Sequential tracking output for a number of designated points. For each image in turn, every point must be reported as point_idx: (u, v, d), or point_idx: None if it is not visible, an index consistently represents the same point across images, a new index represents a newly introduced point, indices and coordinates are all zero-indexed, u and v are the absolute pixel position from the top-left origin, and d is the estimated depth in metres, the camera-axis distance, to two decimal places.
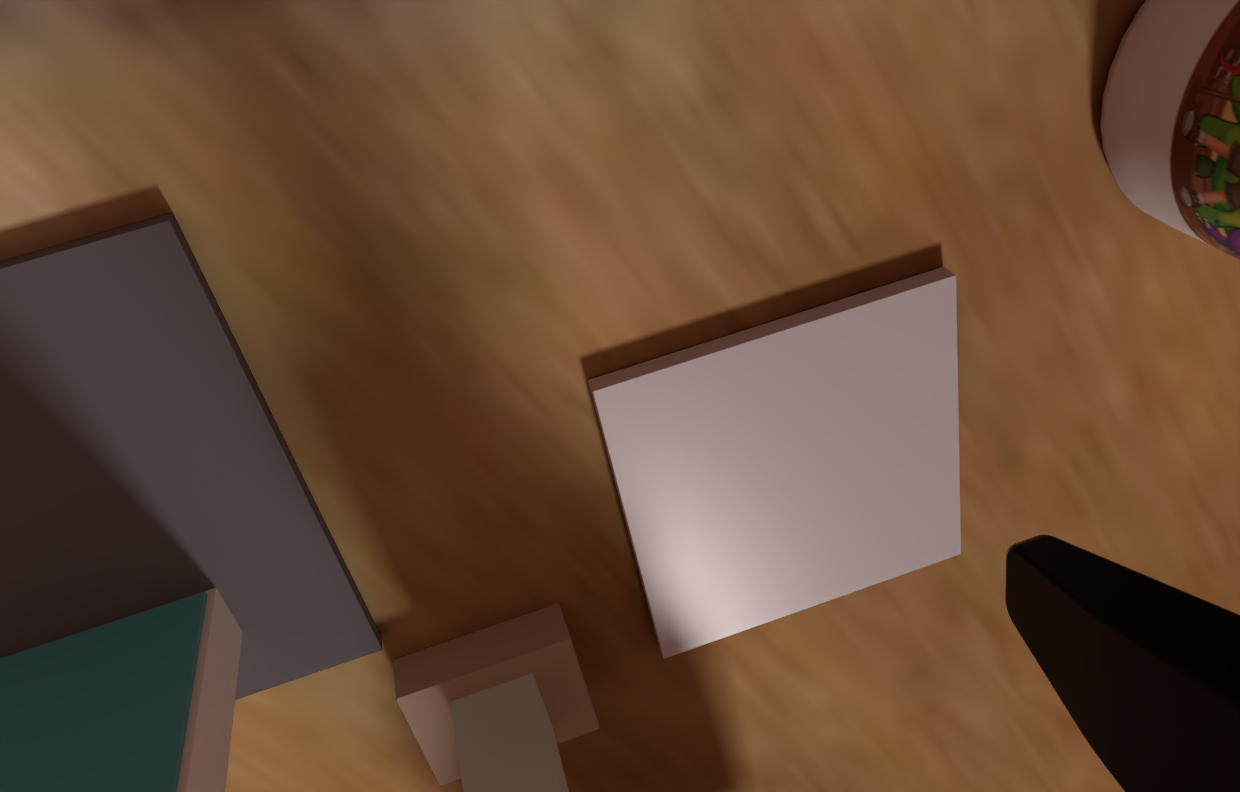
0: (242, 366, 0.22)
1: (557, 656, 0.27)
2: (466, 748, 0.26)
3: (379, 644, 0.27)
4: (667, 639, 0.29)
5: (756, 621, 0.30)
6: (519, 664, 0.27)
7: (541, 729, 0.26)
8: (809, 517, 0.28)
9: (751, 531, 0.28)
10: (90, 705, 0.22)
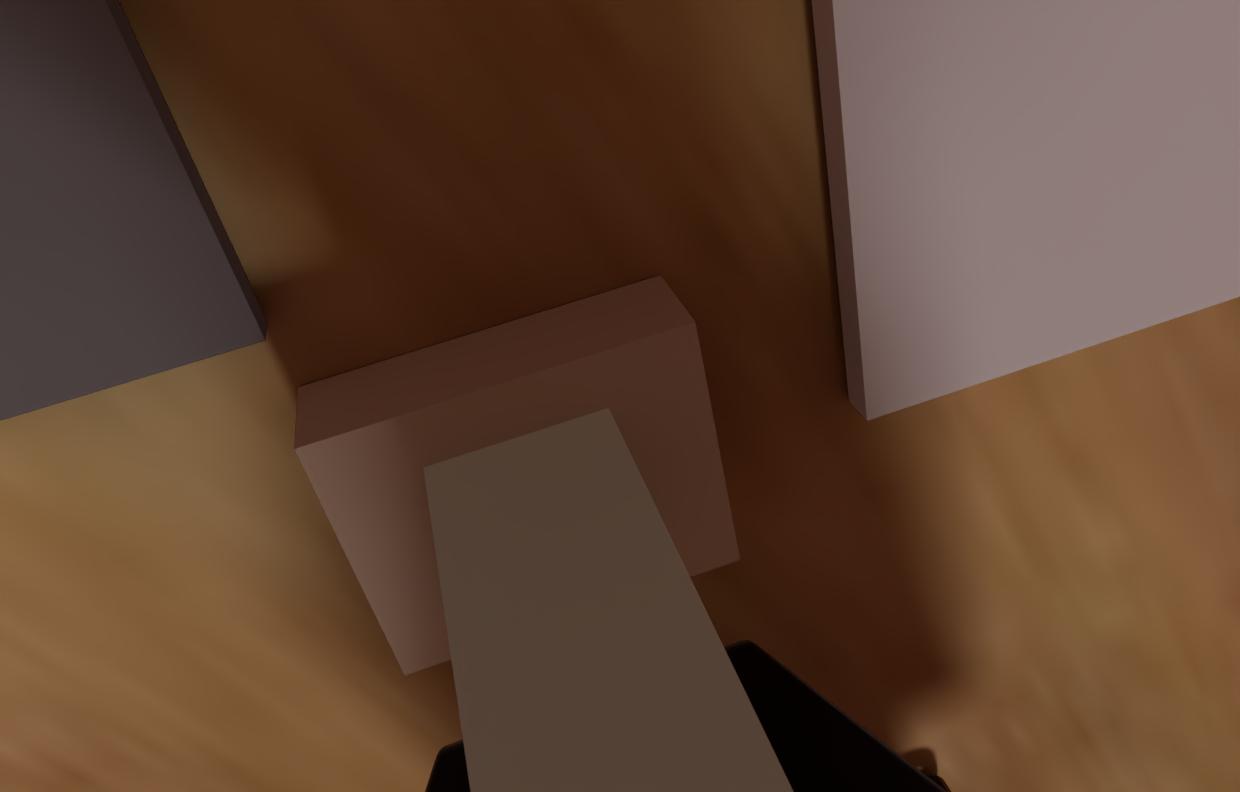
0: None
1: (667, 368, 0.12)
2: (458, 549, 0.10)
3: (258, 326, 0.12)
4: (879, 373, 0.14)
5: (1052, 348, 0.15)
6: (581, 381, 0.12)
7: (643, 502, 0.10)
8: (1202, 89, 0.13)
9: (1084, 111, 0.13)
10: None
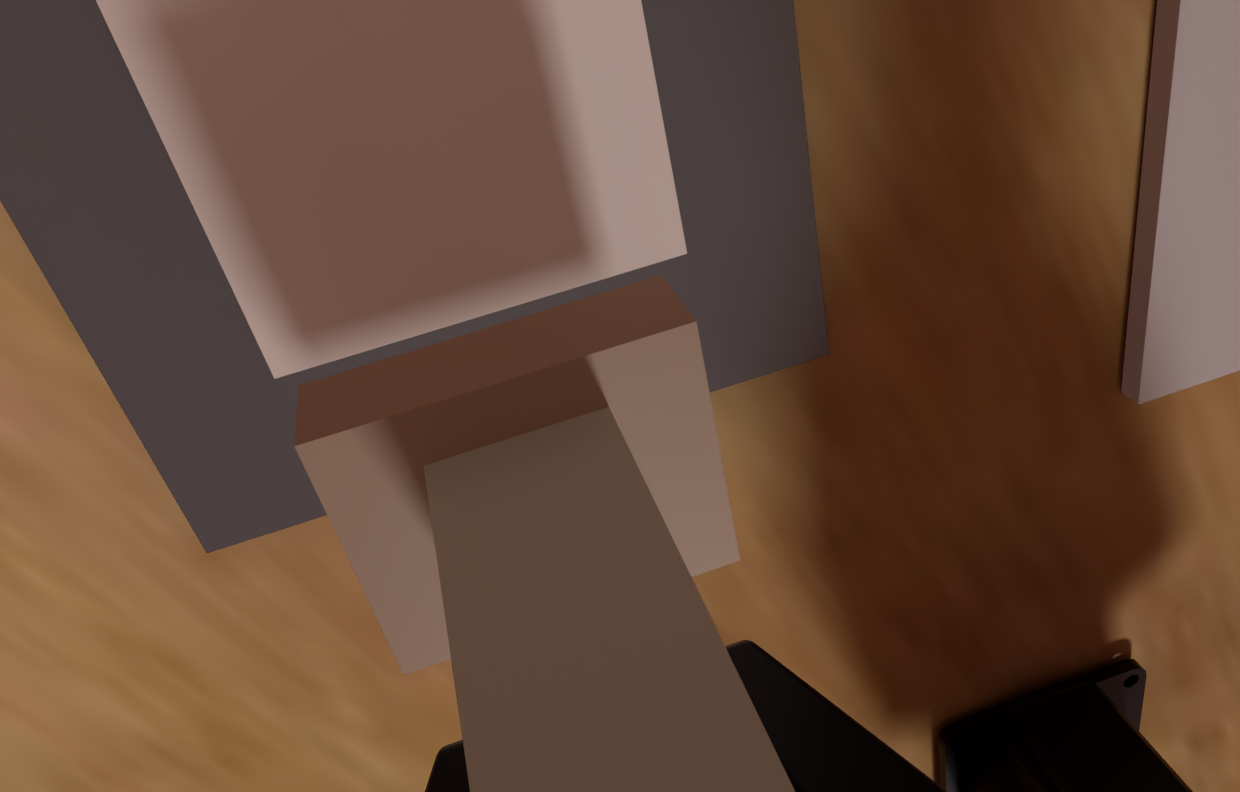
0: None
1: (668, 368, 0.12)
2: (458, 547, 0.10)
3: (827, 346, 0.20)
4: (1151, 374, 0.23)
5: None
6: (582, 380, 0.12)
7: (643, 501, 0.10)
8: None
9: None
10: None
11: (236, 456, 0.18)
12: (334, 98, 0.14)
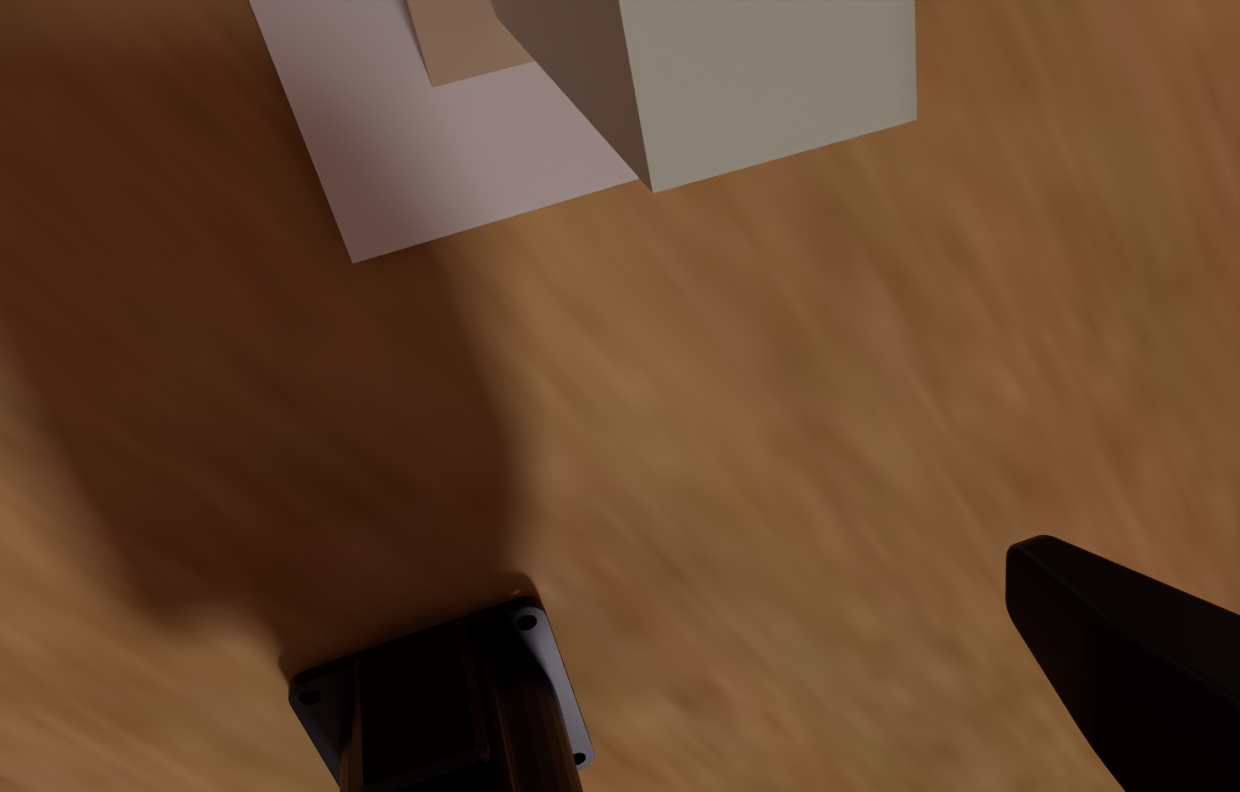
0: None
1: None
2: None
3: None
4: (351, 223, 0.18)
5: (504, 208, 0.19)
6: None
7: None
8: None
9: None
10: None
11: None
12: None
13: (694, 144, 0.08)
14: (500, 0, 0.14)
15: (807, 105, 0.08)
